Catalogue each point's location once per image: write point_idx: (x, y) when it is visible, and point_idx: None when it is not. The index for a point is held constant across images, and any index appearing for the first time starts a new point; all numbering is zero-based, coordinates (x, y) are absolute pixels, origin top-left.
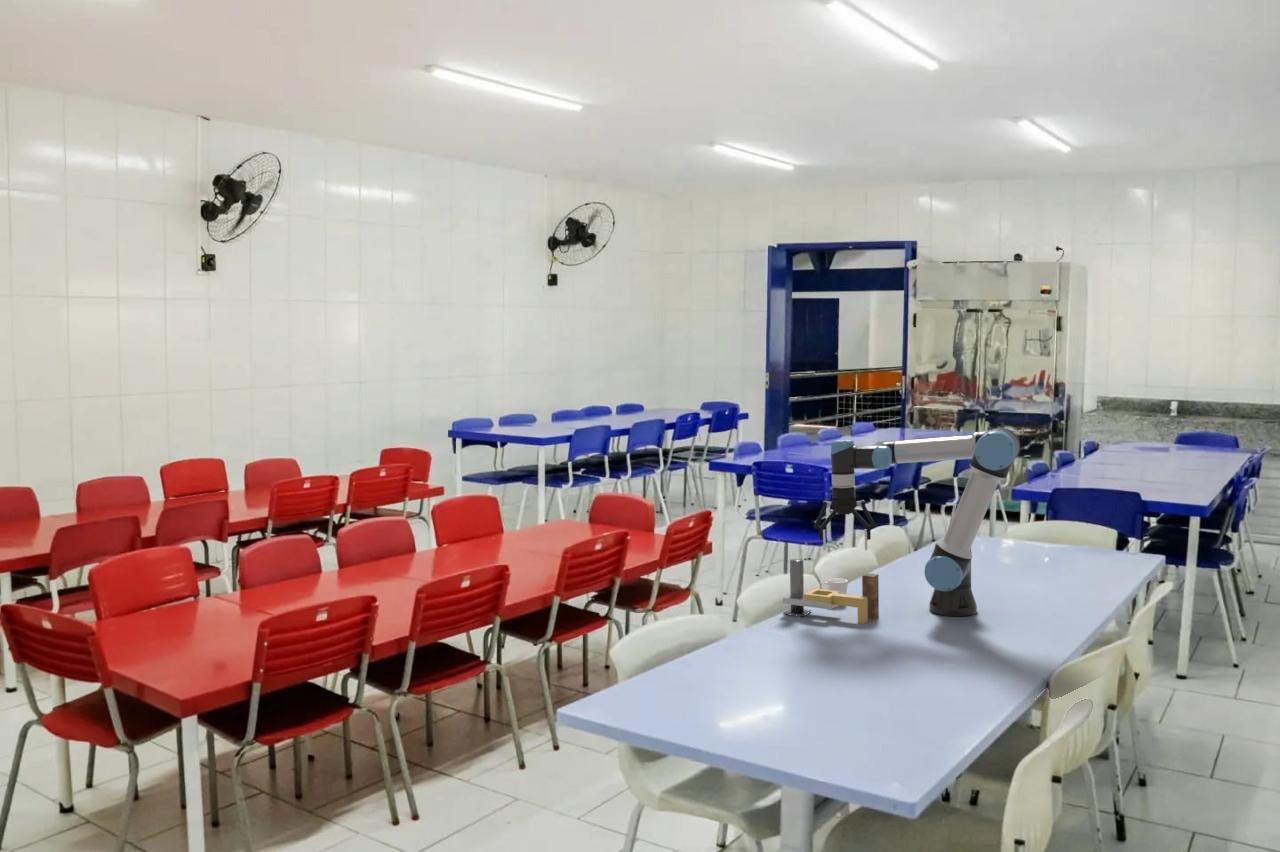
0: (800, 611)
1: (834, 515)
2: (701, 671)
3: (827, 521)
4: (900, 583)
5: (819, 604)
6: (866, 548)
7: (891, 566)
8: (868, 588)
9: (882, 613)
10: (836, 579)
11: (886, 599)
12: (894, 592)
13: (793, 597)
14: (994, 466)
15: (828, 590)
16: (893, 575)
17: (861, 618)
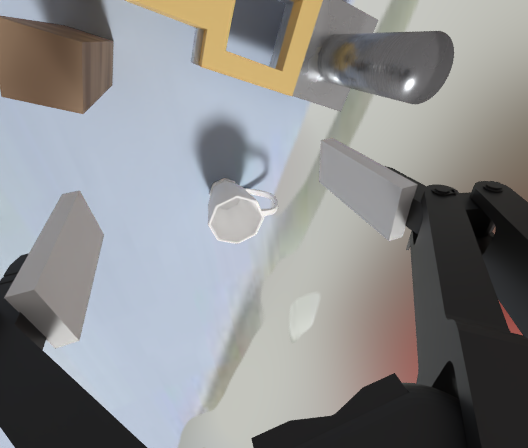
0: None
1: (459, 320)
2: None
3: (455, 247)
4: (139, 361)
5: None
6: (66, 198)
7: (187, 416)
8: (57, 30)
9: (71, 118)
10: (243, 237)
11: (122, 258)
12: (127, 310)
13: (347, 29)
14: None
15: (246, 75)
16: (169, 388)
17: None
